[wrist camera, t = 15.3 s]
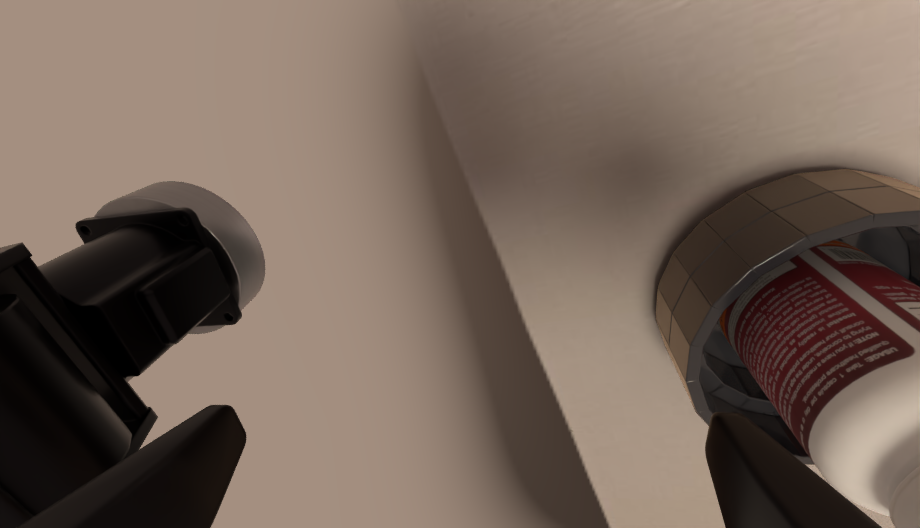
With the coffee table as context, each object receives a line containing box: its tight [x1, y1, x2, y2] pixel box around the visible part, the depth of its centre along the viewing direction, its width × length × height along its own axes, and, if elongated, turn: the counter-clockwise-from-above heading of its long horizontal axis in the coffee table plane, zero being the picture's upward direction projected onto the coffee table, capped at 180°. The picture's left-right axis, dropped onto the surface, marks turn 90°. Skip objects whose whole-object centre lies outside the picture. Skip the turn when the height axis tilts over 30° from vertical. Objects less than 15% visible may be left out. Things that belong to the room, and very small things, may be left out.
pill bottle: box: [718, 240, 920, 528], centre depth 15 cm, size 6×6×11 cm
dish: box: [656, 169, 920, 464], centre depth 18 cm, size 11×11×5 cm
